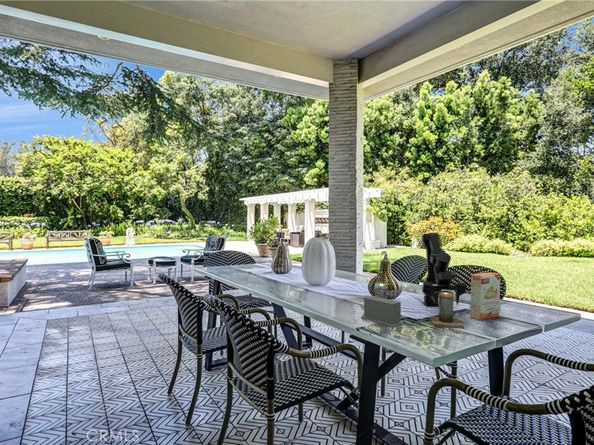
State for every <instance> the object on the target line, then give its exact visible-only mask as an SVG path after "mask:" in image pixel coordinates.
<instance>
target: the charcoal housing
mask: <svg viewBox="0 0 594 445" xmlns="http://www.w3.org/2000/svg"><path fill="white" fill-rule="evenodd" d="M401 304H402V303H401V301H397V300H394V299H390V298H389V299H388V298H387V299H384V298H380V297H375V295H370V296H366V297H364V298H363V315H361V317H360V318H361V319H363V320H366V321H370V322H374V323H376V322H377V324H380V325H383V324H384V326H386V327H390V328H395V327H398V326H401V325H403V324H404V323H405V322H404V321H402V320H401V315H402V314H401V313H402V312H401V311H402V310H401V309H402V307H401V306H402V305H401Z"/></svg>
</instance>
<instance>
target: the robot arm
mask: <svg viewBox="0 0 594 445" xmlns="http://www.w3.org/2000/svg"><path fill="white" fill-rule="evenodd" d="M420 237H421V238H420V239H421V243H422V245H423V248H424V249H425V250H426V254H425V255H426V273H427V276H426V278H425V279H424V281H423V283H422V285H421V286H422V287H421V290H422V293H423V295H424V296H423V304H424V305H425V306H427V307H439V291H454V298H455V302H456V303H455V304H456V305H459V301H460V296H462V295H464V294H465V293H466V290H467V288H468V287H467V284H466V283H465V282H456V284H455V285H452V280H455V279H456V278H457V275H456V271H453V270H452V271H451V270H450V271H448V268H449V266H450V263H451V261H452V257H451V255H450V254H449V253H446V250H443V249H442V248H441V244H440V238H439V237H440V235H439V233H438V232H428V233H423V234H422V235H421V236H420Z"/></svg>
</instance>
